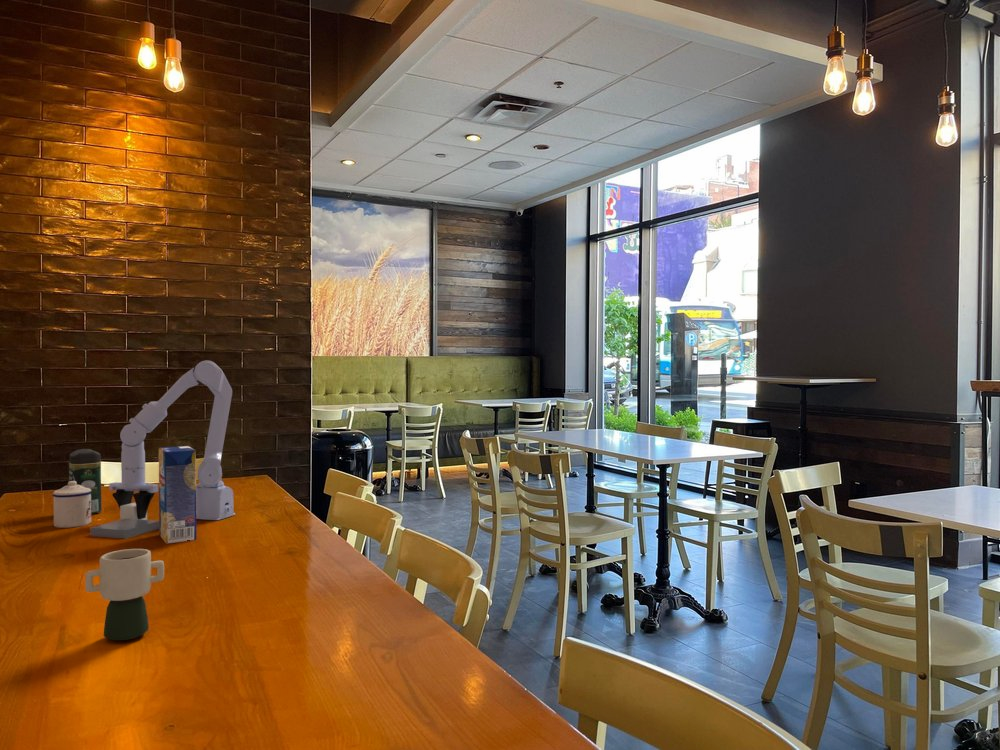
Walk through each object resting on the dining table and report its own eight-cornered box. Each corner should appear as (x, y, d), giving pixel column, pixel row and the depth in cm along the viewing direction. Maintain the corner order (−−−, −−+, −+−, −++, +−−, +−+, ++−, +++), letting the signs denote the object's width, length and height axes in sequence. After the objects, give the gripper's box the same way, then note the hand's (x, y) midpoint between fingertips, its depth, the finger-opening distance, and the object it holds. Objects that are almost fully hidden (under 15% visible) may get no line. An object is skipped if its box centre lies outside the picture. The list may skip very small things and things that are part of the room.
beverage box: (188, 531, 181) (187, 445, 181) (196, 539, 172) (195, 450, 171) (159, 534, 177) (158, 447, 177) (166, 543, 168) (165, 452, 168)
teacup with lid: (95, 524, 189) (95, 481, 189) (56, 530, 183) (55, 485, 182) (85, 517, 198) (85, 476, 197) (47, 522, 192) (47, 480, 191)
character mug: (160, 622, 116) (160, 544, 116) (168, 636, 110) (167, 553, 110) (84, 637, 110) (83, 554, 109) (88, 652, 104) (87, 565, 103)
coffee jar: (67, 512, 205) (67, 448, 205) (98, 508, 210) (98, 446, 210) (71, 517, 198) (71, 452, 197) (103, 514, 202) (103, 449, 202)
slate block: (159, 530, 184) (159, 520, 184) (125, 540, 173) (125, 530, 173) (125, 528, 187) (125, 518, 187) (90, 537, 176) (90, 527, 176)
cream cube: (147, 521, 192) (147, 503, 192) (134, 525, 188) (134, 506, 187) (133, 520, 193) (133, 502, 193) (120, 524, 189) (120, 505, 189)
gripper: (99, 468, 188) (100, 519, 189) (143, 471, 184) (144, 522, 185) (120, 465, 195) (121, 514, 195) (163, 467, 191) (164, 516, 191)
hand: (133, 517), depth 190 cm, fingers closed on cream cube, 5 cm apart
